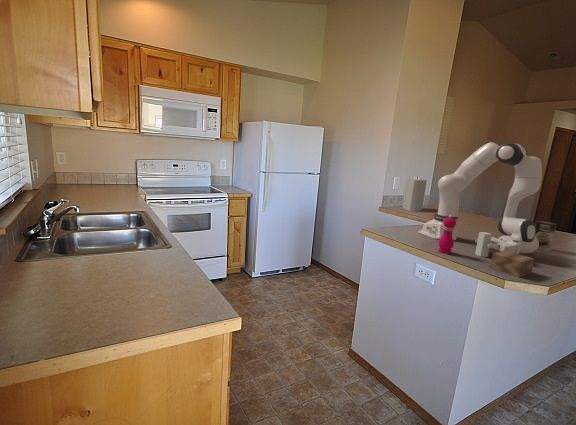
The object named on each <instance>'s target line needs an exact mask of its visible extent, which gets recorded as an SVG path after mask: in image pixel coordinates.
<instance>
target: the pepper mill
mask: <svg viewBox="0 0 576 425" xmlns="http://www.w3.org/2000/svg"><path fill="white" fill-rule="evenodd" d="M452 217H453V216H452V215H449V218H445V219H444V221H443V224H444V228H443V229H444V232H443V235H442V237H441V238H440V239H438V249H437V252H439V253H441V254H444V255H451V254H452V248H453V247H454V244H455V243H454V240H453V238H452V232H453V231H454V226H456V227H457V225H456V220H455V219H453V218H452Z"/></svg>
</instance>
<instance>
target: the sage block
mask: <svg viewBox="0 0 576 425" xmlns="http://www.w3.org/2000/svg"><path fill="white" fill-rule="evenodd" d="M491 237H493V234H492V233H490V232H486V231H482V232H481V231H479V233H478V237H477V239H478V241H477V243H476V247H475V252H474V254H475V255H476V256H478V257H482V258H488V257H489V252H490V248H488V247H487V244H490V242H491Z"/></svg>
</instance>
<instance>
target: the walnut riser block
mask: <svg viewBox="0 0 576 425" xmlns="http://www.w3.org/2000/svg"><path fill="white" fill-rule="evenodd" d="M534 262H535V258H533V257H530V256H526V255H523V254H521V253H519V254H516V253H513V252H509V251H497V252H493V253H492V255H491V259H490V264H489V268H490V269H491V270H494V271H495V270H496V271H497V272H501V271H502V272H501V273H504V272H505V274H507V273H508V274H507V275H510V274H511V276H513V275H514V276H513V277H516V276H517V278H521V276H522V277H525V276H527V274H528V275H531V274H532V271H533V269H534V268H533V267H534V264H535V263H534ZM524 275H525V276H524Z"/></svg>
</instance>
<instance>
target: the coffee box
mask: <svg viewBox="0 0 576 425" xmlns="http://www.w3.org/2000/svg"><path fill="white" fill-rule="evenodd" d="M535 225H536V235H535V236H536V239H537V240H538V242H539V247H538V249H537V250H539V251H543V252H549V253H550V252H551V248H552V243H553V241H554V240H553V239H554V237H555V236H554V235H555V232H556V229H557V225H558V224H557V223H556V222H554V223H553V222H550V221H549V222H548V221H543V220H537V221H536V223H535Z"/></svg>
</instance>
